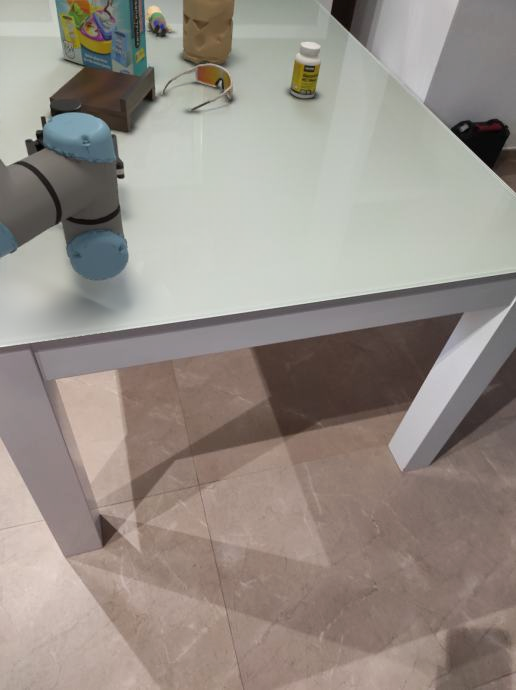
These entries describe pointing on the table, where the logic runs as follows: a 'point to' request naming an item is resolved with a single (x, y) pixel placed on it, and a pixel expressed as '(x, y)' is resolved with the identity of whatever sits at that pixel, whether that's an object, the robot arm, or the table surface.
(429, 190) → the table surface
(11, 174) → the robot arm
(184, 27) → the container
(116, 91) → the shelf
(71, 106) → the supplement bottle
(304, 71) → the pill bottle
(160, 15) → the toy figurine
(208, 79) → the sunglasses
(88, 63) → the game box
